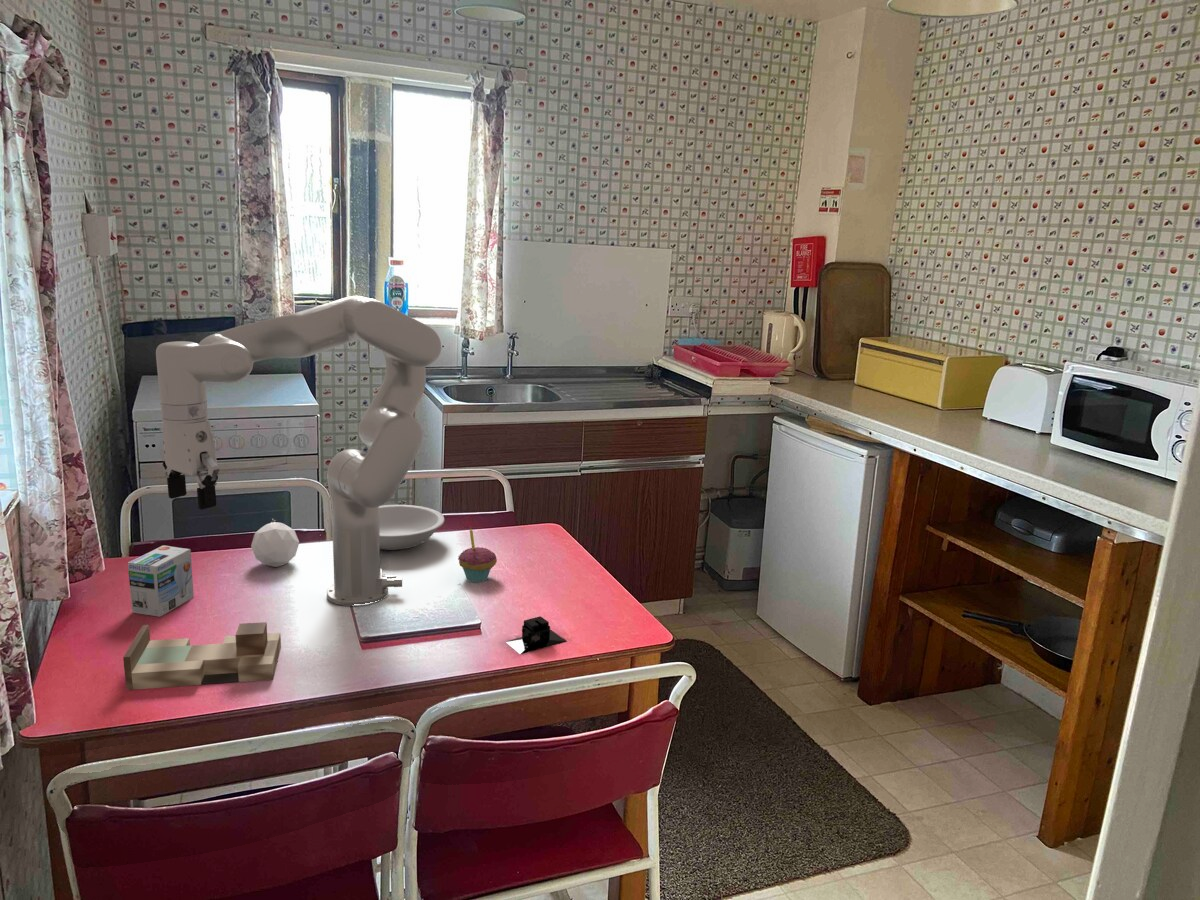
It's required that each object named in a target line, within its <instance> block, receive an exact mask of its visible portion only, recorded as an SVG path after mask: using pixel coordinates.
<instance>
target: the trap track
mask: <svg viewBox="0 0 1200 900" xmlns="http://www.w3.org/2000/svg"><path fill="white" fill-rule="evenodd" d="M281 638H282V637H281V632H272V633H271V632H270V633H268V632H267V640H268V643H267V647H266V650H265V653H264V654H261V655H246V656H237V651H236V634H235V635H233V634H232V635H225V636H224V637H223V641H222V643H211V644H210V643H209V644H191V642H190V641H191V640H190V637H185V638H168V639H151V634H150V625H149V624H142V626H141V627H140V629H139V631H138V632H137V634H136V635H135V638H133V640H132V642H131V643H130V645H129V647H128V649H127V650H126V652H125V653H124V655H123V657H122V658H123V667H124V668H123V670H124V678H125V679H124V680H125V690H126V691H130V690H133V691H134V690H144V689H161V688H174V687H175V688H176V687H188V686H202V685H215V684H230V683H231V684H233V683H244V682H261V681H273V680H274V677H275V674H276V669H277V665H278V662H279V657H280V654H281V648H282V639H281Z"/></svg>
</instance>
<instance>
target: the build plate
mask: <svg viewBox="0 0 1200 900" xmlns="http://www.w3.org/2000/svg"><path fill="white" fill-rule="evenodd" d="M549 623H550V622H549V621H548V620H547V619H545V618H543V617H542V615H540V616H537V617H532V618H528V619H525V620H523V625H522V627H521V628H522V629H521V637H517V638H514V639H511V640H506V641H505V643H506V644H507V645H508V646H509V647H511V648H512V649H514V651H516V653H518V654H519V655H524V654H527V653H530V652H531V653H532V652H535V651H538V650H539V651H540V650H542V649H545V648H549V647H552V646H556V645H560V644H563V643H567V642H568V641H567V639H565V638H563V637H562V636H561V635H559V634H557V633H556V632H554V631H553V630H551V626H550V624H549Z"/></svg>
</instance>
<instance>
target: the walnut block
mask: <svg viewBox="0 0 1200 900" xmlns="http://www.w3.org/2000/svg"><path fill="white" fill-rule="evenodd" d="M267 625H268V623H267V622H266V621H265V622H263V621H262V622H246V623H243V622H242V623H239V625H238V627H237V630H236V633H235V635H236V651H237V656H246V655H261V654H264V653H265V650H266V647H267V643H268V640H267V633H268V626H267Z"/></svg>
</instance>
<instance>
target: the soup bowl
mask: <svg viewBox="0 0 1200 900" xmlns="http://www.w3.org/2000/svg"><path fill="white" fill-rule="evenodd" d="M379 516H380V550H387V551H388V550H390V551H392V550H393V551H395V550H396V551H397V550H404V549H405V550H406V549H409V548H411V549H412V548H414V547H416V546H420V545H421V544H423V543H425V542H426V541H427V540H429V538H431V537H432V536H433V535H434V533H435V532H436V530H437V529H440V527H442V526H443V525H444V523H445V517H444V515H443V513H441V512H439V511H438V510H436V509H432V508H430V507H426V506H421V505H411V504H386V505H385V504H383V505H381V506H379Z"/></svg>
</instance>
